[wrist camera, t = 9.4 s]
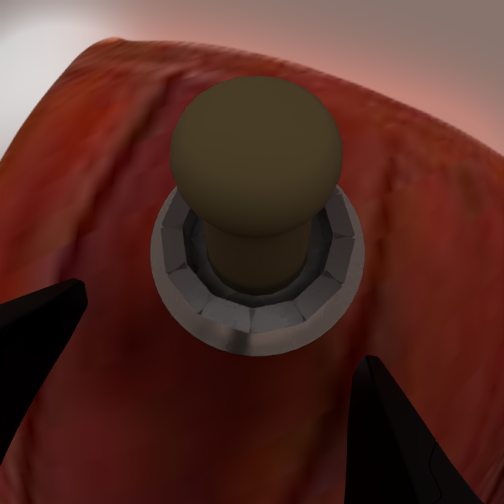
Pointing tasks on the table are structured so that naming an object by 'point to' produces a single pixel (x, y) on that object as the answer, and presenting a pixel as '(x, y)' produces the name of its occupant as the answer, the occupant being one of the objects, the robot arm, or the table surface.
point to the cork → (256, 176)
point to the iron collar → (266, 306)
